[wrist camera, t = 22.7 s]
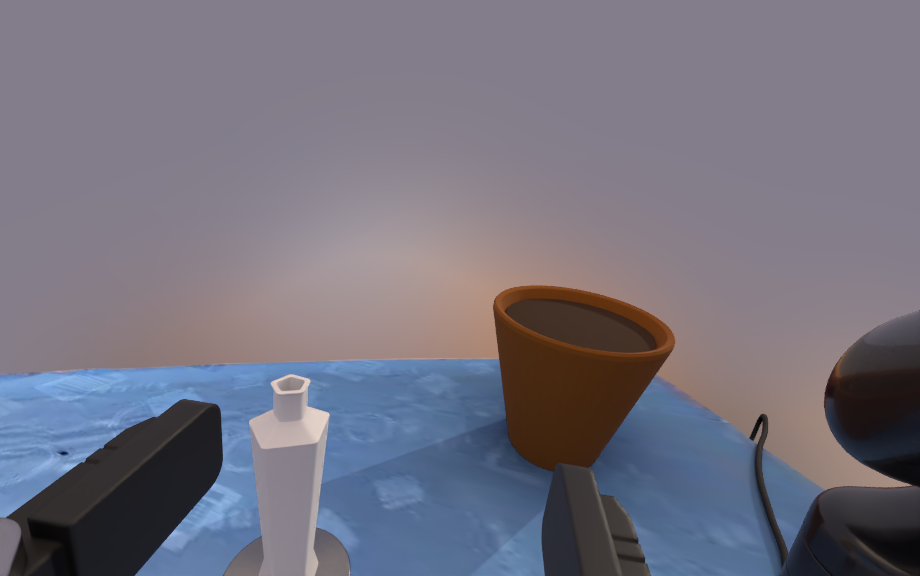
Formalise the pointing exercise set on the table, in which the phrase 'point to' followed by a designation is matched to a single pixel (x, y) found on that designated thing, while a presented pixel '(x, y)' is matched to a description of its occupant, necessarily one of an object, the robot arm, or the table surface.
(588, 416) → the flower pot
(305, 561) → the perfume bottle
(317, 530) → the tin can
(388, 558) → the table surface
